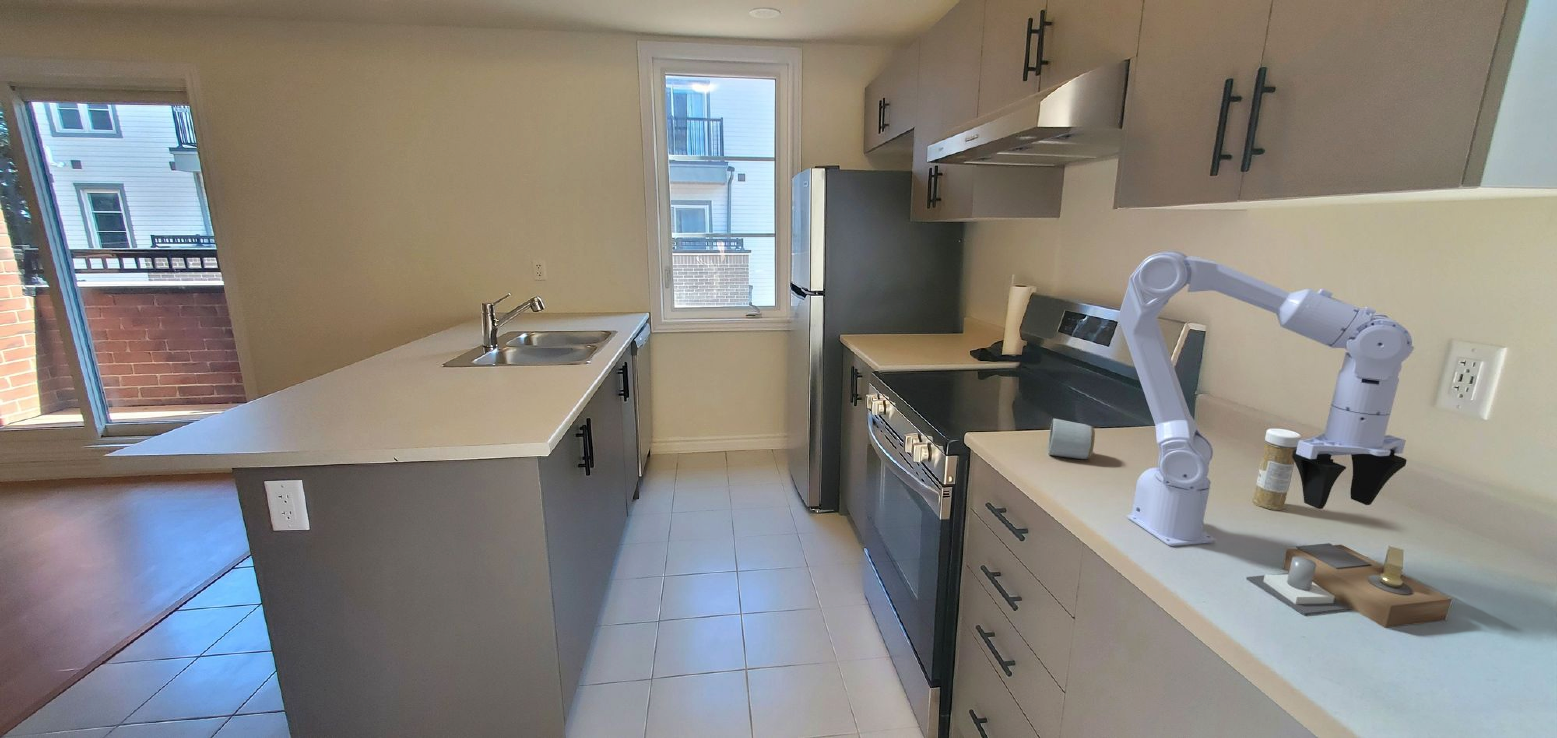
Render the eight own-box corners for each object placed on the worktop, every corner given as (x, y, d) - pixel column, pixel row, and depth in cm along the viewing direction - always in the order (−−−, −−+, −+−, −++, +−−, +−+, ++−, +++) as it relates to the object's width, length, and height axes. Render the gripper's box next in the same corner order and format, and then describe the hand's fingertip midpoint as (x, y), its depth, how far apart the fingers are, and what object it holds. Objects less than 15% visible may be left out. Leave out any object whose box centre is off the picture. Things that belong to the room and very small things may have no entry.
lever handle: (1401, 590, 75) (1406, 571, 75) (1378, 583, 77) (1383, 565, 76) (1401, 568, 80) (1406, 550, 80) (1380, 562, 82) (1385, 544, 81)
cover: (1263, 581, 82) (1269, 551, 81) (1298, 580, 83) (1305, 550, 81) (1295, 603, 77) (1302, 572, 76) (1332, 603, 78) (1340, 571, 77)
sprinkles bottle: (1253, 496, 108) (1268, 425, 105) (1286, 504, 105) (1302, 431, 102) (1250, 505, 105) (1265, 432, 102) (1284, 513, 102) (1300, 438, 99)
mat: (1246, 578, 83) (1246, 576, 83) (1289, 574, 84) (1290, 572, 84) (1303, 615, 76) (1304, 613, 76) (1350, 609, 77) (1351, 607, 77)
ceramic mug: (1092, 465, 122) (1097, 429, 121) (1048, 459, 125) (1052, 424, 123) (1086, 448, 132) (1091, 414, 130) (1045, 443, 135) (1049, 410, 133)
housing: (1281, 567, 86) (1285, 547, 85) (1334, 562, 88) (1339, 542, 87) (1385, 627, 74) (1391, 604, 73) (1445, 620, 75) (1452, 597, 74)
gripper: (1345, 420, 75) (1321, 521, 78) (1442, 415, 77) (1415, 513, 80) (1290, 404, 81) (1270, 497, 85) (1380, 399, 84) (1357, 490, 87)
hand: (1336, 503), depth 83 cm, fingers open, 7 cm apart
